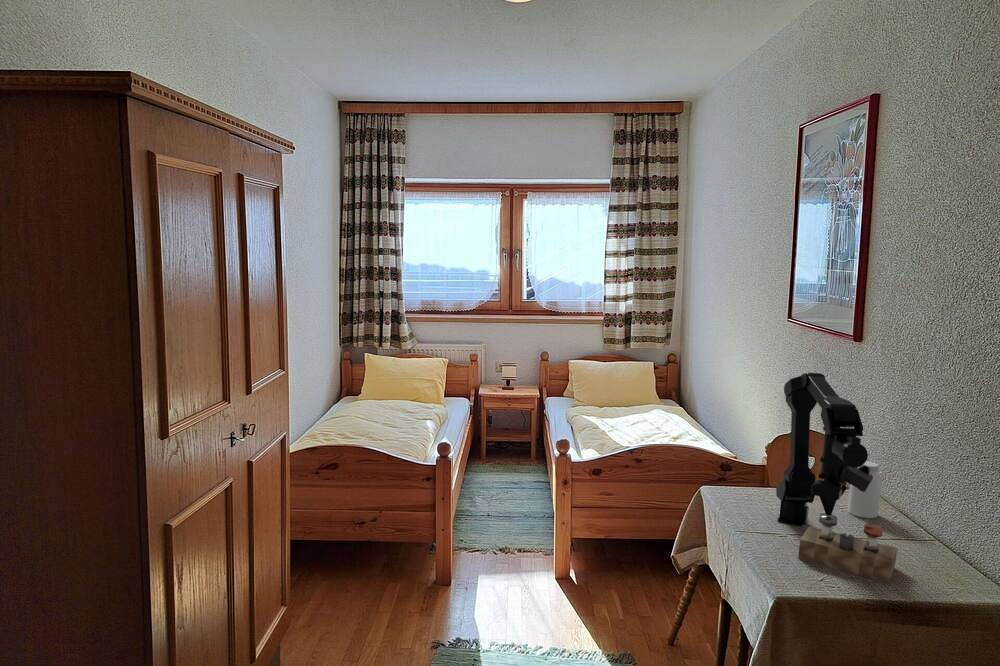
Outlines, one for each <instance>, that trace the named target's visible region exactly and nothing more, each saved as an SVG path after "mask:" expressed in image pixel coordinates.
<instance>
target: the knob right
mask: <svg viewBox="0 0 1000 666" xmlns="http://www.w3.org/2000/svg"><path fill="white" fill-rule="evenodd" d="M863 533H864V534H865V535H866V539H865V540H866V548H865V550H866V551H870V552H874V553H876V551H877V543H878V541H879V538H880V537H883V533H884V528H883V527H882V526H880V525H878V524H875V523H865V524H864V526H863ZM878 544H879V543H878Z"/></svg>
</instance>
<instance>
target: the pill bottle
mask: <svg viewBox="0 0 1000 666" xmlns="http://www.w3.org/2000/svg"><path fill="white" fill-rule="evenodd" d="M863 465H866V466H868V467H870V475H871V474H872V476H873V479H872V481H871V483H870V484H869V486H868V488H867V489H866V491H865V492H862V491H860V490H859V489H858V488H856V487H855V486H853V485H851V484H849V485H850V486H849V491H848V492H849V493H848V501H847V502H848V503H847V510H848V511H847V512H848V513H849V514H851V515H853V516H855V517H857V518H863V519H875V518H877V517H878V516H879V514H880V513H879V512H880V503H881V495H882V485H883V478H882V476H881V474H879V473H878V472H879V469H880V468H879V464H878V463H875V462H873V461H868V460H866V462H865V463H864V464H863ZM863 465H862V466H863ZM860 467H861V466H860ZM858 468H859V467H858Z"/></svg>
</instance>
